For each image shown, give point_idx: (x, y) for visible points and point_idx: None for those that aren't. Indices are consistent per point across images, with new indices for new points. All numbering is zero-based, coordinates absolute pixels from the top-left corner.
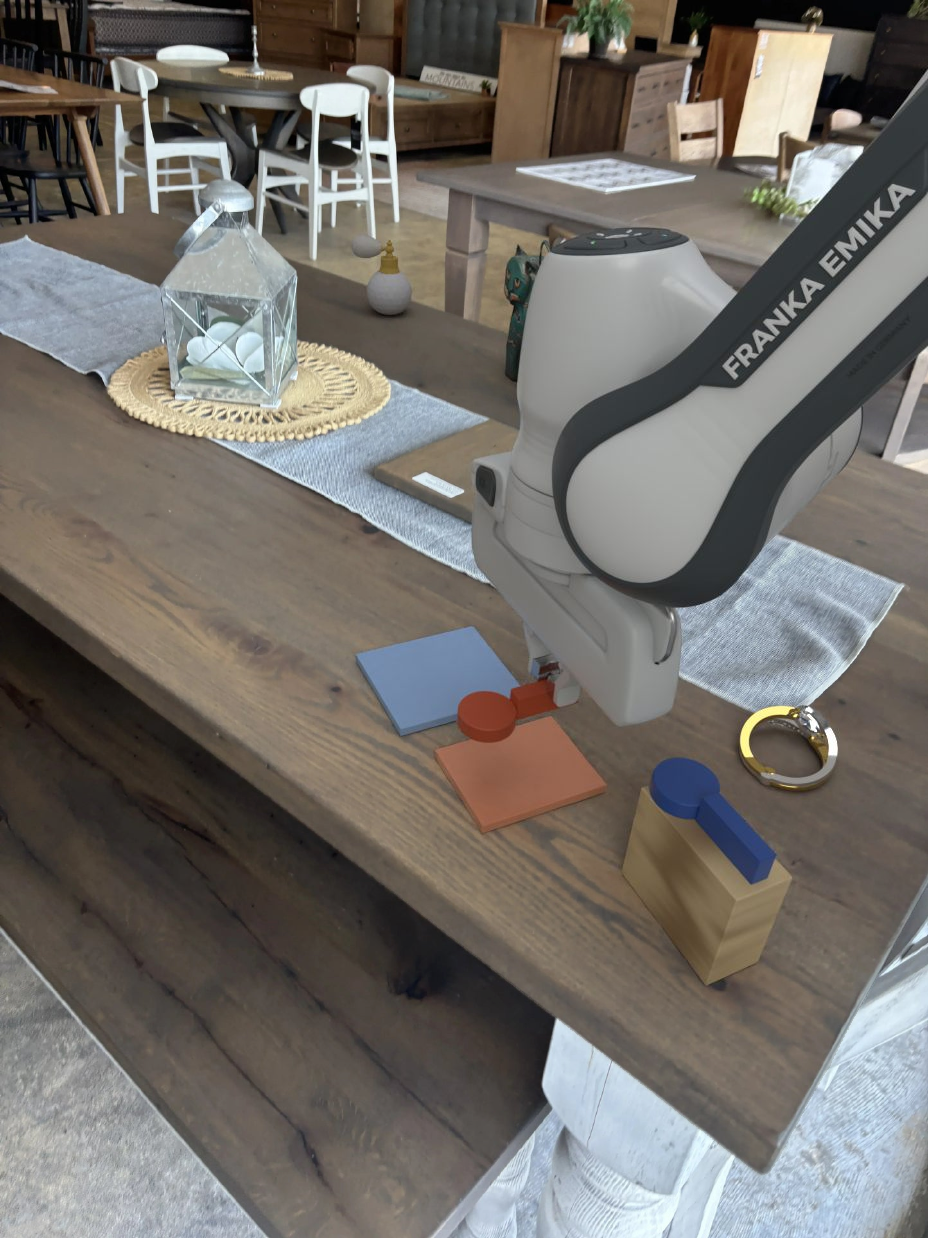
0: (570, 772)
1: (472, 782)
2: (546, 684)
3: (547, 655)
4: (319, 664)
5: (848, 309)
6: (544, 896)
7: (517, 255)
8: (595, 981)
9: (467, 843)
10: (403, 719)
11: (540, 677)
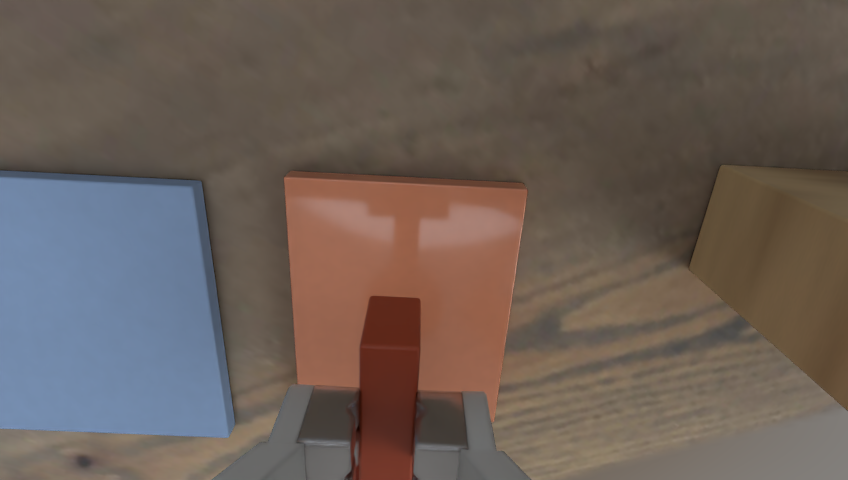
0: (461, 237)
1: None
2: (385, 444)
3: (307, 474)
4: (6, 462)
5: None
6: (641, 387)
7: None
8: (790, 398)
9: (495, 430)
10: (204, 426)
11: (357, 458)
